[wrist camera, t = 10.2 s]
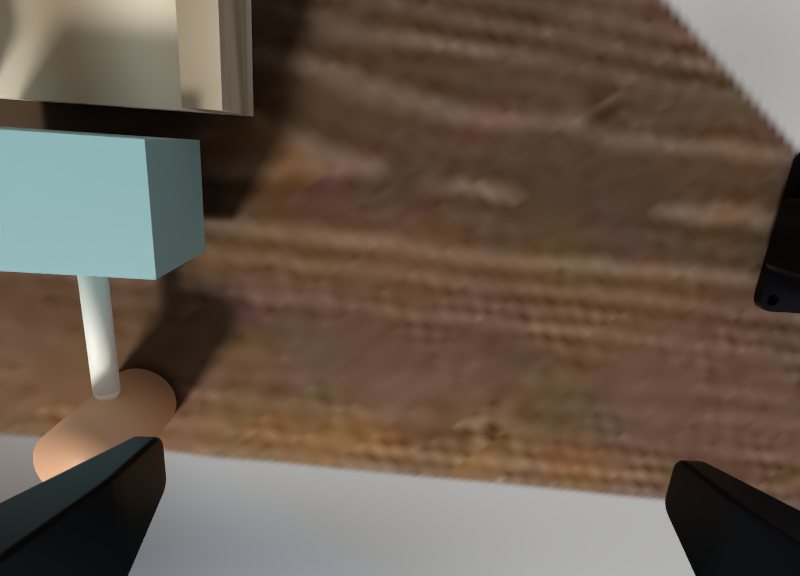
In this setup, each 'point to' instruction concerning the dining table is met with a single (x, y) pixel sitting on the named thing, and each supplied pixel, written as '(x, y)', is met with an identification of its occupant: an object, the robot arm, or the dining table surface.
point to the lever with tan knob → (100, 258)
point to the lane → (129, 53)
